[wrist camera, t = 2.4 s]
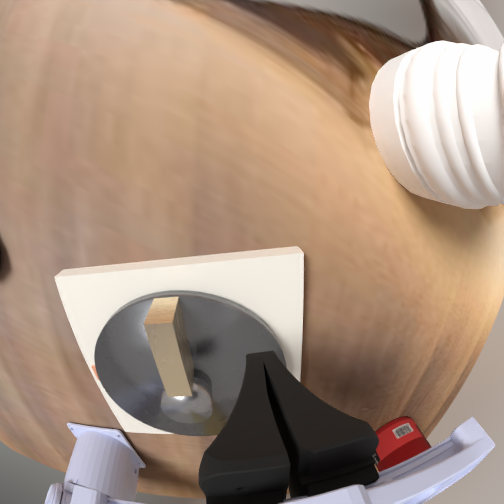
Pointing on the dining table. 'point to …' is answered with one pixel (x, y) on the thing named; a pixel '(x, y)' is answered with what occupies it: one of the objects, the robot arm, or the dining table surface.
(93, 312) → the base
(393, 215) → the dining table surface
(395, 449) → the canned food
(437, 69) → the honey pot
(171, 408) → the handwheel
